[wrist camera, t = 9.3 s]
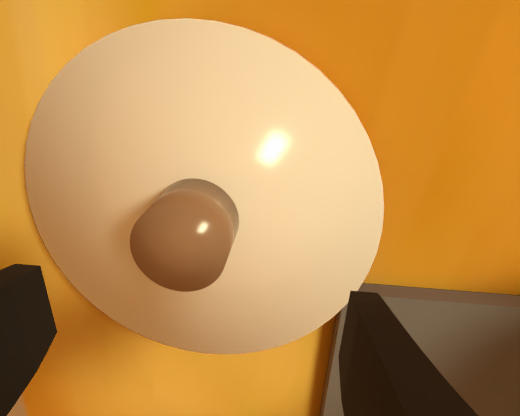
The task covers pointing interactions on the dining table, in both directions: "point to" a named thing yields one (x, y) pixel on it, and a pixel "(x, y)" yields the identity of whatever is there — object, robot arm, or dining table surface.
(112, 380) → the dining table surface
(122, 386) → the dining table surface
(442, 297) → the mat
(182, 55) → the lid
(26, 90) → the dining table surface
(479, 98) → the dining table surface
